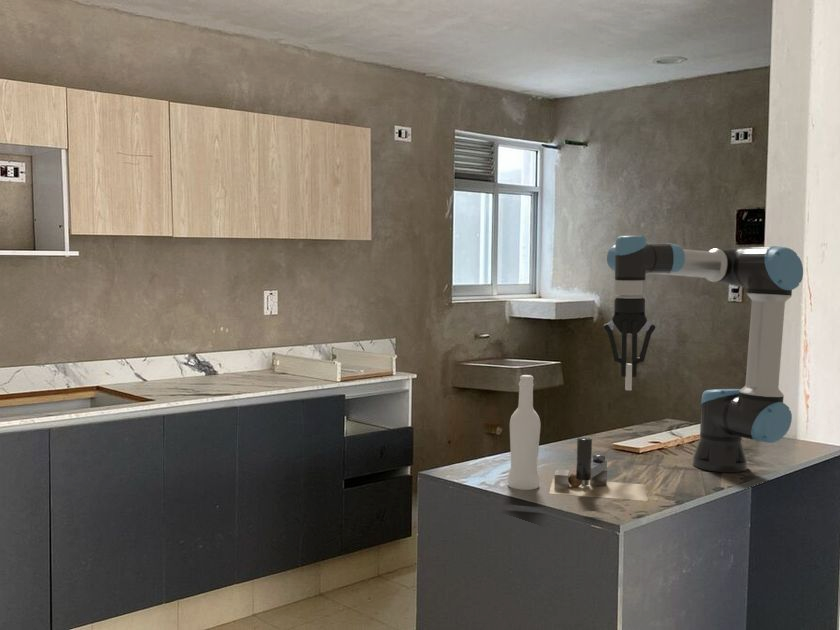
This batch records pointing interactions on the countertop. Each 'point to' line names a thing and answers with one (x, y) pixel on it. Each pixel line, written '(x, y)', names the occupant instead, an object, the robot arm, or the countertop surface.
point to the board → (597, 487)
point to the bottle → (524, 439)
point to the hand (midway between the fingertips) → (628, 389)
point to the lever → (588, 461)
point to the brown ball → (574, 480)
